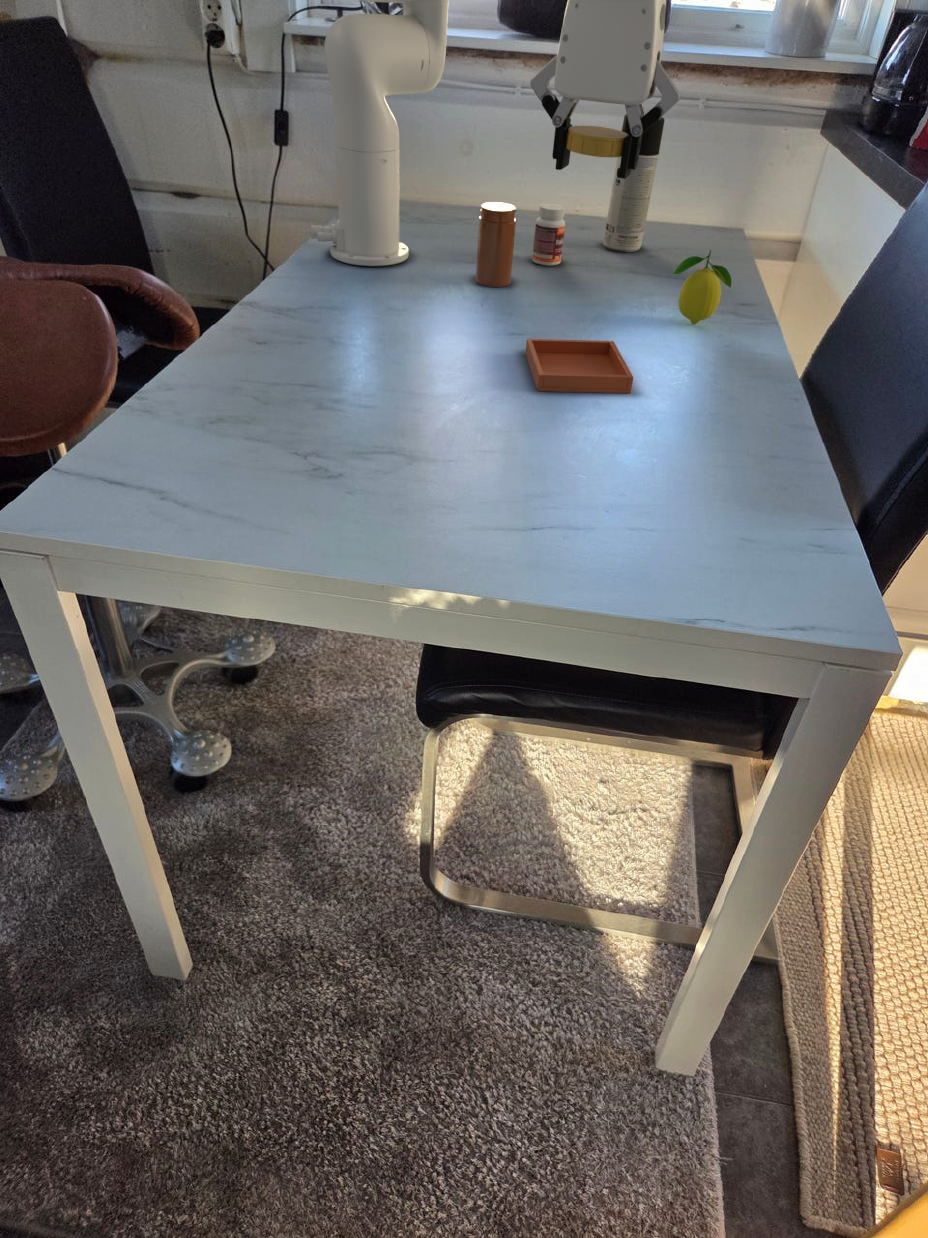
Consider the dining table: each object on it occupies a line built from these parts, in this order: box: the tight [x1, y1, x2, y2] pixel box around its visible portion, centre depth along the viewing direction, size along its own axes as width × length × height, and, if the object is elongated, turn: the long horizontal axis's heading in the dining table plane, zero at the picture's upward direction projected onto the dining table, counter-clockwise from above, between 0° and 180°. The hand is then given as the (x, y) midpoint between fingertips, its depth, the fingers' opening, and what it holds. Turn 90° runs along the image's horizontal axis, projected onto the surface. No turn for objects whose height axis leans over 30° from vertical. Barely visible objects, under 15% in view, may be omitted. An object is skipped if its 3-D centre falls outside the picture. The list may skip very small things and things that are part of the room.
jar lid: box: [566, 125, 628, 158], centre depth 89 cm, size 6×6×2 cm
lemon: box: [672, 249, 732, 325], centre depth 114 cm, size 7×6×10 cm
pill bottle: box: [531, 203, 566, 267], centre depth 134 cm, size 5×5×8 cm
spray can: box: [603, 113, 665, 253], centre depth 139 cm, size 7×7×20 cm
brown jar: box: [475, 201, 517, 288], centre depth 124 cm, size 5×5×11 cm
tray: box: [524, 338, 634, 394], centre depth 101 cm, size 11×11×2 cm
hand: (593, 170), depth 90 cm, fingers closed on jar lid, 6 cm apart
